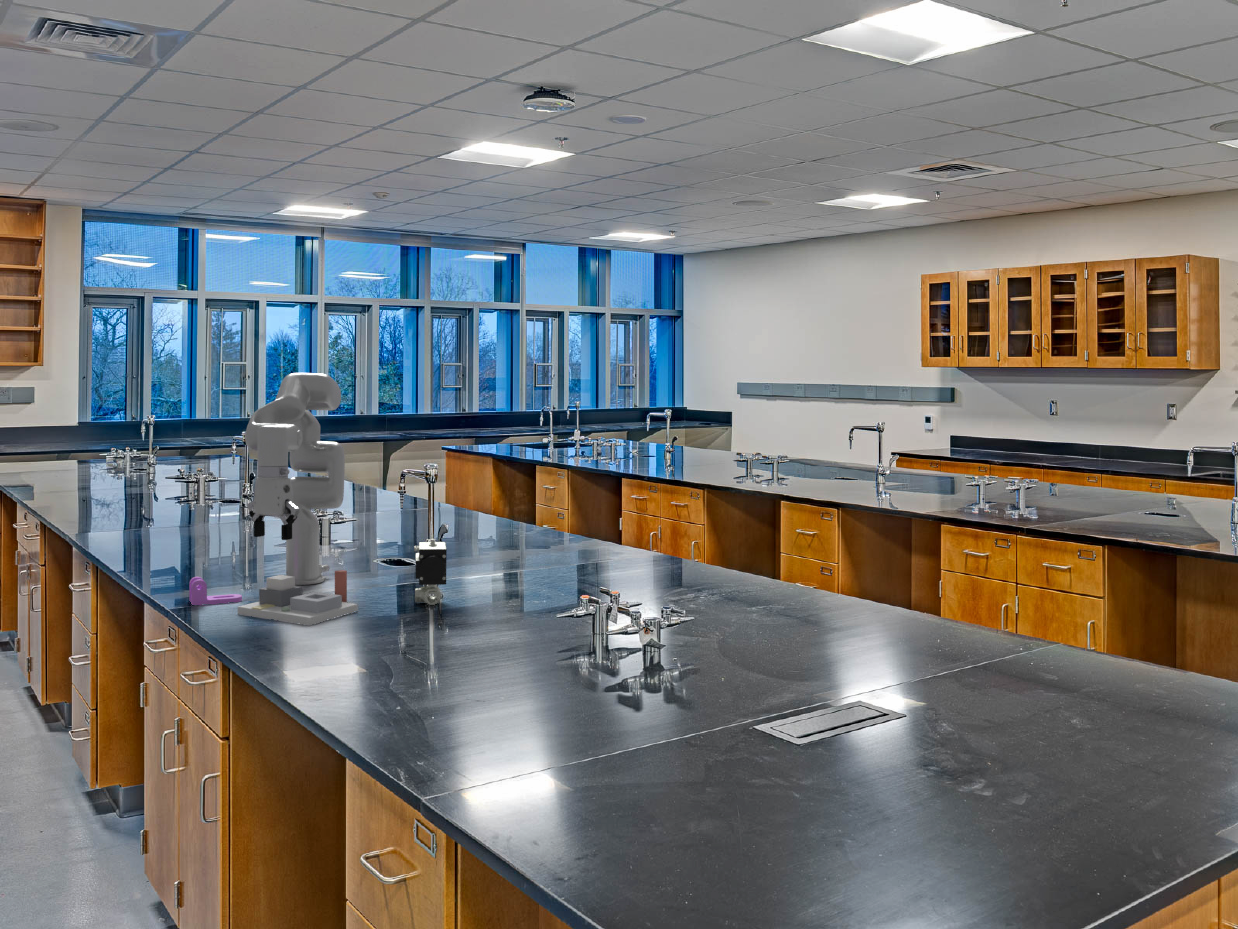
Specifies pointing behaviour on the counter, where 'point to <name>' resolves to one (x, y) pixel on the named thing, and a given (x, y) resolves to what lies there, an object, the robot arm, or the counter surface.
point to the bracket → (200, 594)
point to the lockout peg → (341, 584)
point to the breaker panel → (295, 613)
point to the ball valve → (430, 570)
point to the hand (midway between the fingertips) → (273, 538)
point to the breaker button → (280, 582)
